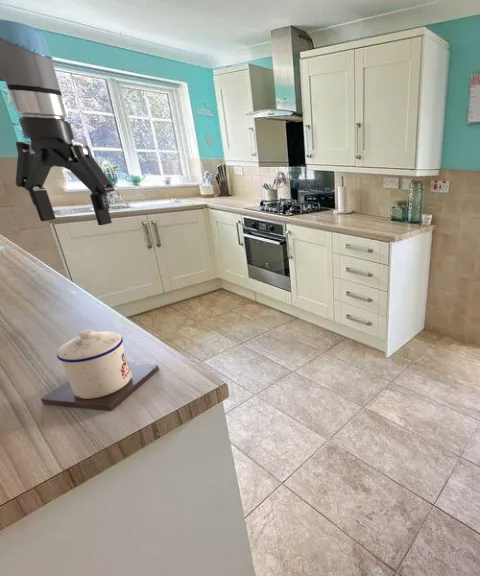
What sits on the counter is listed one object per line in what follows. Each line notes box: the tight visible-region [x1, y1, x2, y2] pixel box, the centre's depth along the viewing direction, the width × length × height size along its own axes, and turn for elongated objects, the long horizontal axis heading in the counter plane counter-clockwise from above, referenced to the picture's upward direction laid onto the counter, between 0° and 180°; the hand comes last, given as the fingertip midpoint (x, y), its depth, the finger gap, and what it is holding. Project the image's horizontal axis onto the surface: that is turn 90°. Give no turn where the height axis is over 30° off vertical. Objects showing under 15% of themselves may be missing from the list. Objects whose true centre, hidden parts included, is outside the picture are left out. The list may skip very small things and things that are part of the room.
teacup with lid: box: [56, 329, 132, 399], centre depth 61 cm, size 12×9×12 cm
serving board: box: [40, 362, 160, 412], centre depth 64 cm, size 13×12×1 cm
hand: (76, 222), depth 74 cm, fingers open, 13 cm apart
